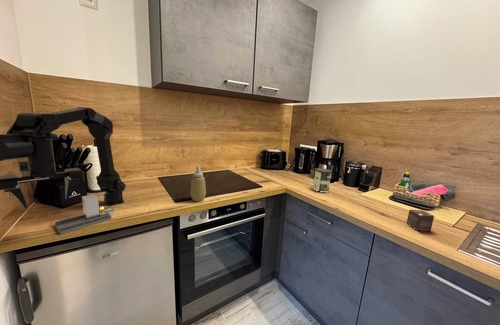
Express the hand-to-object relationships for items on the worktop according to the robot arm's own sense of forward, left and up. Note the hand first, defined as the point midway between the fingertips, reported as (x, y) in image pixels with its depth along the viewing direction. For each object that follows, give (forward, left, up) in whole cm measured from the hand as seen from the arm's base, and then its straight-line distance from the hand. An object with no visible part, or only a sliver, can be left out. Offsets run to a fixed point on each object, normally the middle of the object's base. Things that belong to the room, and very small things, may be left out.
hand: (47, 203), depth 63 cm
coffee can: (-121, +50, -12) cm, 131 cm away
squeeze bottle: (-54, +7, -12) cm, 56 cm away
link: (-14, -5, -11) cm, 19 cm away
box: (-100, +99, -12) cm, 141 cm away
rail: (-10, -5, -12) cm, 16 cm away
